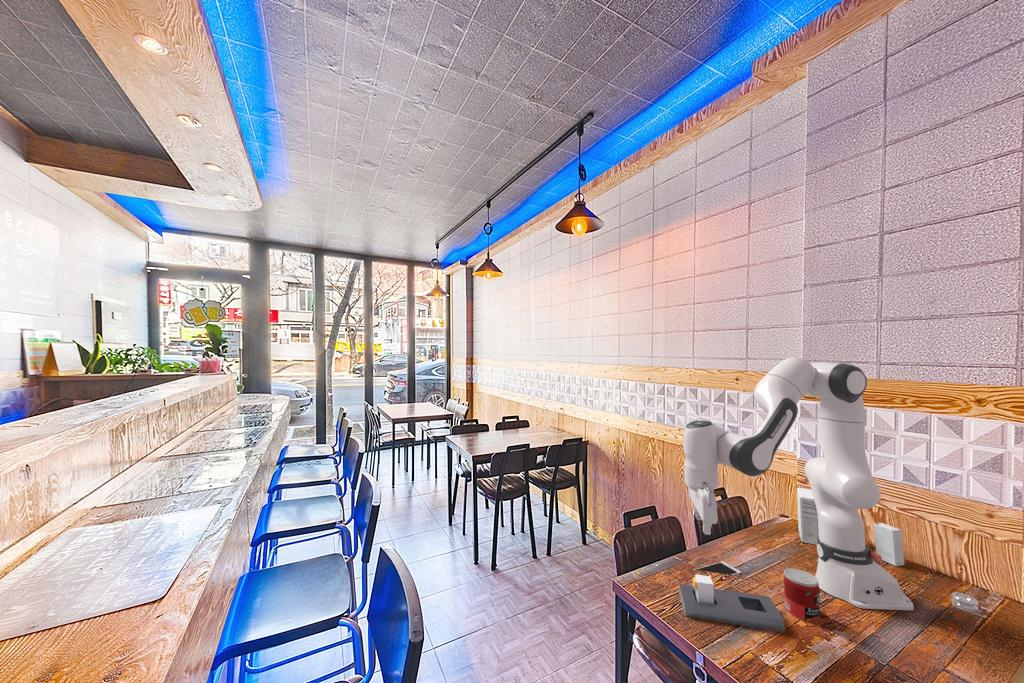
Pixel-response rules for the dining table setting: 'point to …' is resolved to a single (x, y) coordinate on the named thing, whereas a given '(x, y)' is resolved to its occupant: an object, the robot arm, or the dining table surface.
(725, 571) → the smartphone
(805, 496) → the supplement box
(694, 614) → the panel
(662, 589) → the dining table surface
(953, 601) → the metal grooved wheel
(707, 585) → the plug
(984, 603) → the dining table surface
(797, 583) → the canned food
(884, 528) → the skincare box
